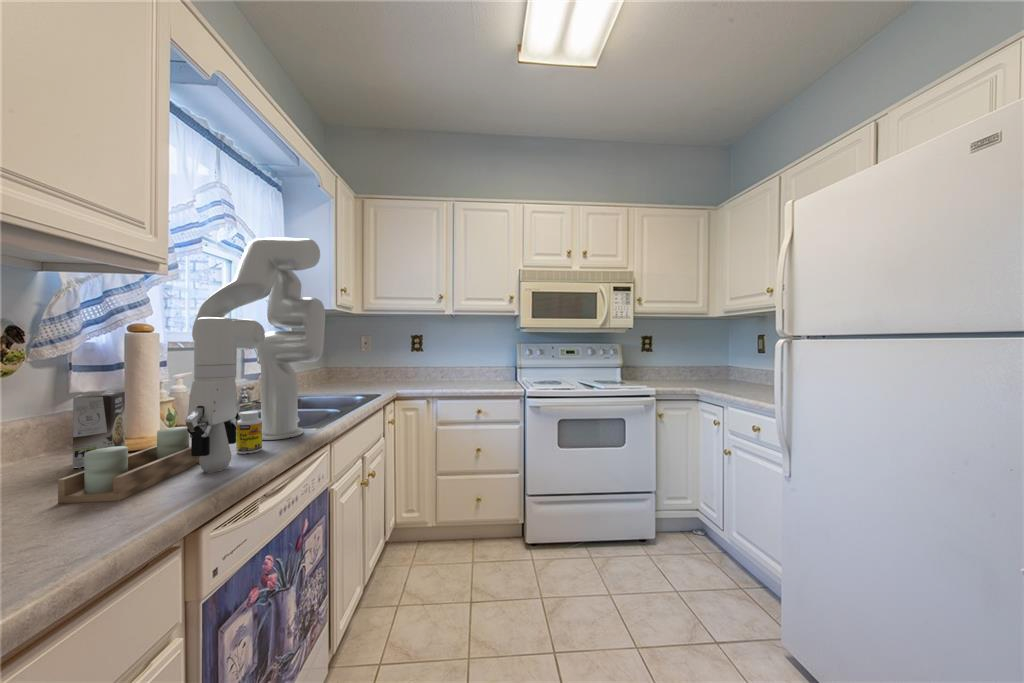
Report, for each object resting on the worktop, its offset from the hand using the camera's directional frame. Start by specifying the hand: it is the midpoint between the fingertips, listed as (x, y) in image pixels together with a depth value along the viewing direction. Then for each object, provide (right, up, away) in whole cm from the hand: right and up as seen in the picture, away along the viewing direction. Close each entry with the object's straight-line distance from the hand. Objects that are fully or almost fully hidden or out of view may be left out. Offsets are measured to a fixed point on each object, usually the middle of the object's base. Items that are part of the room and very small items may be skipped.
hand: (215, 449), depth 86 cm
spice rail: (-11, -5, -5) cm, 13 cm away
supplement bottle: (-2, -5, +14) cm, 15 cm away
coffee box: (-31, -5, +5) cm, 32 cm away
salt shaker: (0, -5, 0) cm, 5 cm away
